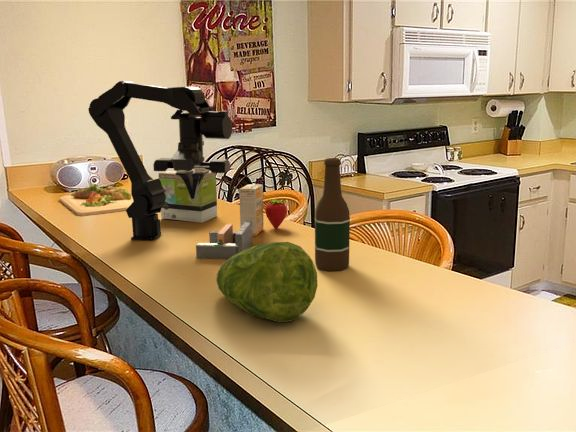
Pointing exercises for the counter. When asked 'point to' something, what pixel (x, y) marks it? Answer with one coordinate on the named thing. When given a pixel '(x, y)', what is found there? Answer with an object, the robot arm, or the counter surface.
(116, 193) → the cutting board
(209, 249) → the gauge frame
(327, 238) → the beer bottle
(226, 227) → the long salmon pink beam
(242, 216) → the supplement box
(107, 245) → the counter surface
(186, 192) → the tea box
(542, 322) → the counter surface
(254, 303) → the lettuce
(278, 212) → the strawberry
